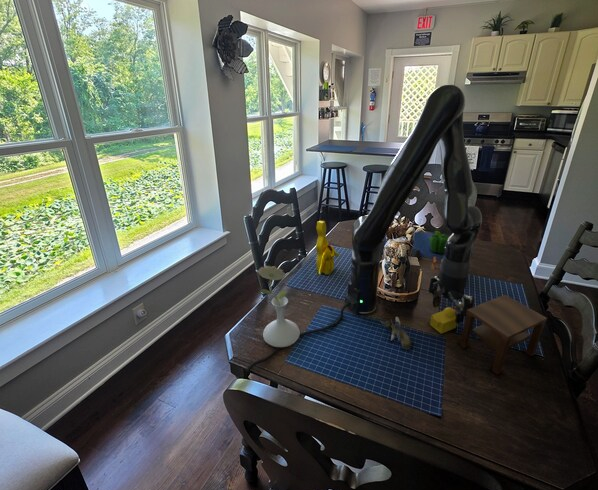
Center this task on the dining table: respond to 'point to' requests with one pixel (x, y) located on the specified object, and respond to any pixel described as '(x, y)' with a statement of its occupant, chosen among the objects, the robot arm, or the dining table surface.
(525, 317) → the wooden side table
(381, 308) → the dining table surface
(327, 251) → the figure statuette
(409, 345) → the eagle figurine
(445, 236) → the bell pepper
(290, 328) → the flower in vase
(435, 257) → the decorative duck model
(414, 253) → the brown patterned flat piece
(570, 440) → the dining table surface
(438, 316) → the rubber duck
